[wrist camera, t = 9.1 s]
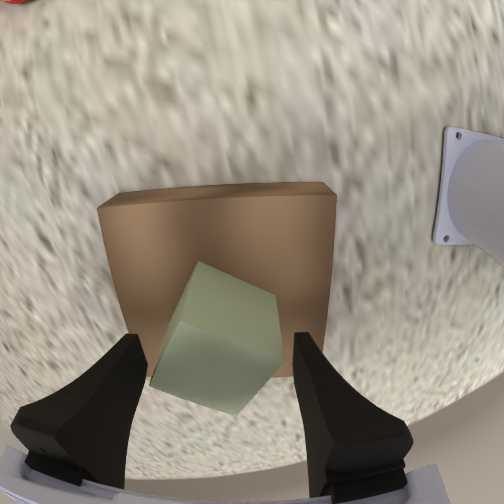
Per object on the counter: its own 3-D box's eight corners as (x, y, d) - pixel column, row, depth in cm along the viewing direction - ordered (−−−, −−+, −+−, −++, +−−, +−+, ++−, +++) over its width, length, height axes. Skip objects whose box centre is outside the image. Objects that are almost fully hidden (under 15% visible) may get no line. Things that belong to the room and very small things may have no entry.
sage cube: (275, 295, 17) (284, 360, 12) (238, 350, 18) (236, 416, 14) (198, 260, 16) (180, 320, 11) (169, 322, 17) (148, 385, 13)
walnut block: (322, 181, 17) (336, 195, 14) (312, 345, 22) (319, 374, 19) (118, 193, 17) (96, 208, 14) (153, 348, 22) (144, 376, 19)
